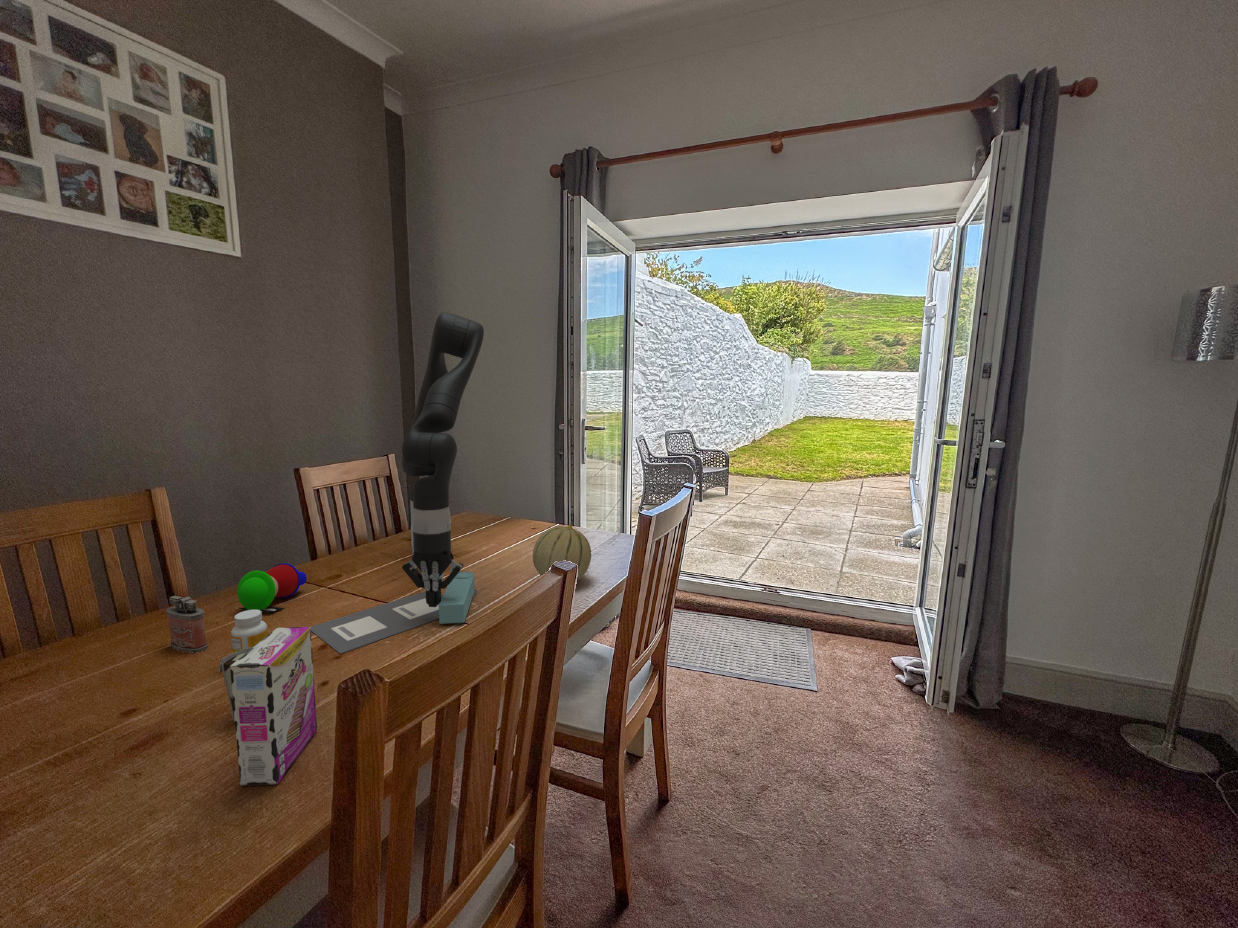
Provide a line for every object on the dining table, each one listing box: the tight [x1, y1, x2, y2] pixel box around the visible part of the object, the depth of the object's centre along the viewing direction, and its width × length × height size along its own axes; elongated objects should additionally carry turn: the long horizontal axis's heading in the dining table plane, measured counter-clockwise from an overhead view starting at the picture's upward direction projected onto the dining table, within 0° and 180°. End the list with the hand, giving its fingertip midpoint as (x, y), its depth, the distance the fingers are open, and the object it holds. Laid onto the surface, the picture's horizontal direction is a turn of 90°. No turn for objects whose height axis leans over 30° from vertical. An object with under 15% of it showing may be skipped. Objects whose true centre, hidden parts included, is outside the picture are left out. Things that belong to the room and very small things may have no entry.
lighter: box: [165, 595, 209, 654], centre depth 103 cm, size 8×3×10 cm, turn 71°
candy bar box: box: [230, 626, 318, 787], centre depth 73 cm, size 11×5×16 cm, turn 5°
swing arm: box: [438, 571, 476, 625], centre depth 123 cm, size 5×20×4 cm, turn 8°
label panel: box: [310, 590, 444, 655], centre depth 118 cm, size 16×28×1 cm, turn 139°
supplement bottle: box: [230, 610, 269, 653], centre depth 97 cm, size 5×5×10 cm
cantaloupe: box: [532, 523, 592, 581], centre depth 138 cm, size 15×15×15 cm
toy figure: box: [236, 562, 308, 613], centre depth 124 cm, size 9×10×15 cm
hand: (434, 605), depth 117 cm, fingers closed
